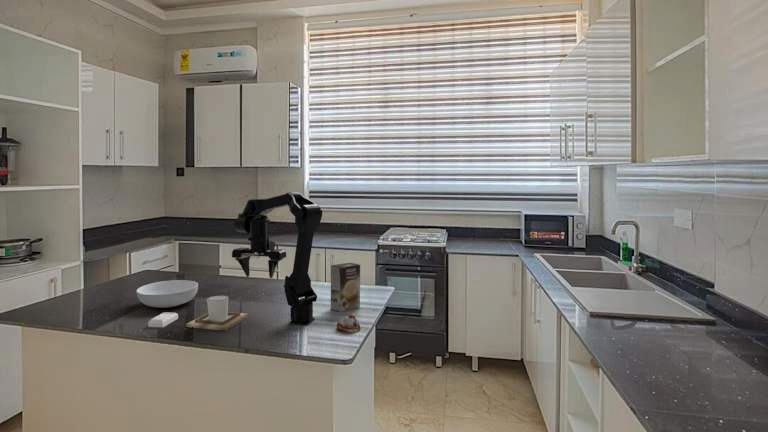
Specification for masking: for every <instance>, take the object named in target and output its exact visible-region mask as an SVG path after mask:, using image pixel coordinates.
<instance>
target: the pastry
mask: <svg viewBox="0 0 768 432" xmlns="http://www.w3.org/2000/svg"><path fill="white" fill-rule="evenodd" d="M336 329H337V330H338V331H339V333H345V334H354V333H357V332H359V331H360V330H361V324H360V322H359V320H358V318H357V317H356V315H354V314H351V313H349V314H348V315H347V316H345V317H344V318H342V319H340V320H338V322H337V323H336Z"/></svg>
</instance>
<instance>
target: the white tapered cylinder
mask: <svg viewBox="0 0 768 432" xmlns="http://www.w3.org/2000/svg"><path fill="white" fill-rule="evenodd" d="M206 304H207V305H206V306H207V313H209V320H210V321H222V320H225V319H227V315H228V312H229V296H228V295H214V296H213V295H211V296H210V297H208V298H206Z"/></svg>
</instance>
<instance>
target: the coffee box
mask: <svg viewBox="0 0 768 432" xmlns="http://www.w3.org/2000/svg"><path fill="white" fill-rule="evenodd" d="M360 306H361V264H359V263H354V262H353V263H352V262H345V263H339V264H337V263H336V264H331V265H330V309H332V310H334V311H337V312H342V313H343V312H345V311H349V310H354V309H357V308H360Z"/></svg>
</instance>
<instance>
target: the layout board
mask: <svg viewBox="0 0 768 432" xmlns="http://www.w3.org/2000/svg"><path fill="white" fill-rule="evenodd" d="M247 318H249V313H241V312H233V311H228V315H227V319H225V320H222V321H210V320H209V313H208V312H207V313H205V314H203V315H201V316H200V317H197V318H196V319H193V320H191V321H189V322H187V323H185V327H186V328H192V327H193V329H202V330H203V329H204V330H206V329H207V330H215V331H223V330H225V331H227V330H228V329H230V328H232V327H234V326H235V325H237V324H238V323H240V322H242V321H244V320H245V319H247Z"/></svg>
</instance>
